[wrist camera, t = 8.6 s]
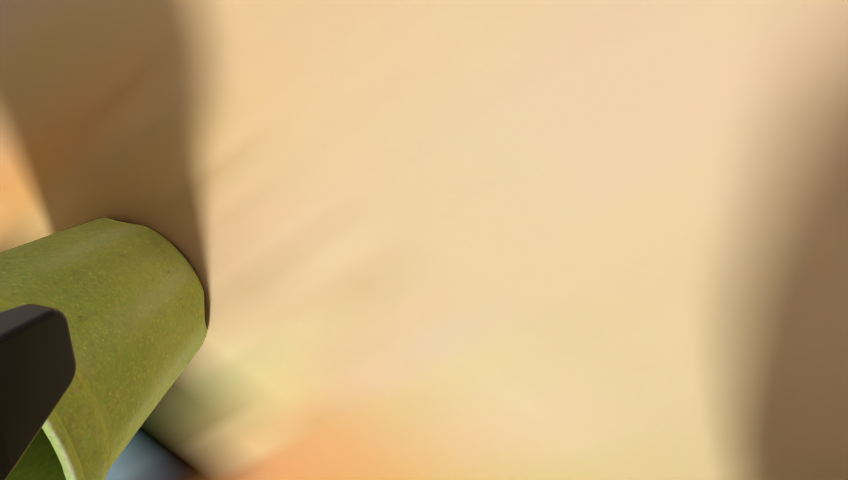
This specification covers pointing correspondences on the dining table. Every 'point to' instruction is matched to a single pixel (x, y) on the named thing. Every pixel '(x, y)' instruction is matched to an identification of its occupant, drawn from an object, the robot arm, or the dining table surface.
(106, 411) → the plant pot
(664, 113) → the dining table surface
